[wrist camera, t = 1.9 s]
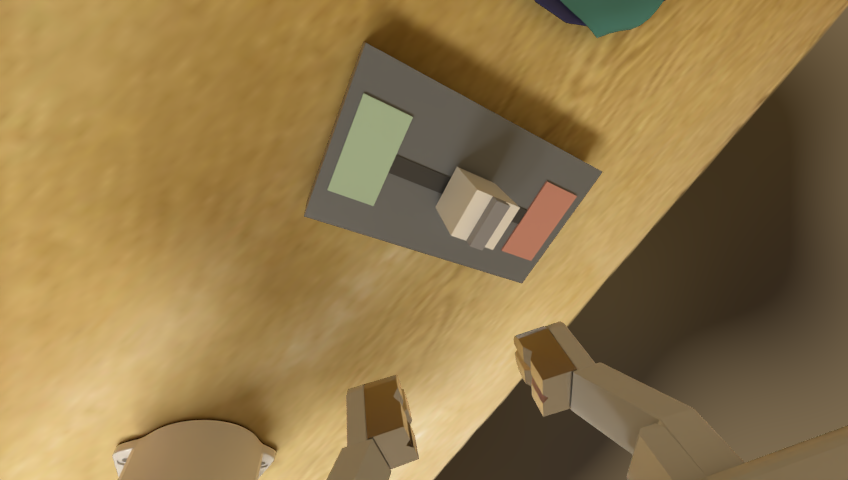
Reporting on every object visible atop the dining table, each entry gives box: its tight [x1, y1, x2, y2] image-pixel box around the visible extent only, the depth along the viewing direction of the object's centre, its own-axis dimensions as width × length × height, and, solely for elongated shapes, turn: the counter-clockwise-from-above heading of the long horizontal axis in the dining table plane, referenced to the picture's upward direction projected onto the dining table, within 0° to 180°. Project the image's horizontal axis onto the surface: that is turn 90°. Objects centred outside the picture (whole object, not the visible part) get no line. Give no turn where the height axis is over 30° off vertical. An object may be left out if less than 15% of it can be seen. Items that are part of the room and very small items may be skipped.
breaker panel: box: [304, 42, 602, 283], centre depth 31 cm, size 14×24×3 cm, turn 63°
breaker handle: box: [436, 167, 520, 250], centre depth 27 cm, size 4×4×6 cm
